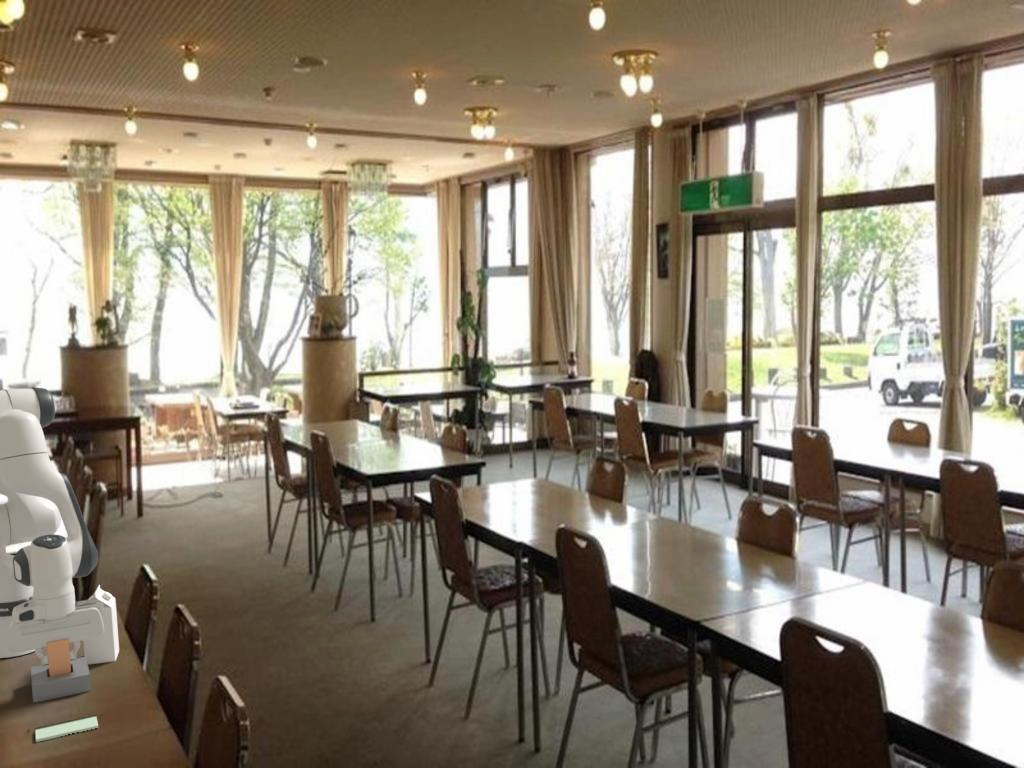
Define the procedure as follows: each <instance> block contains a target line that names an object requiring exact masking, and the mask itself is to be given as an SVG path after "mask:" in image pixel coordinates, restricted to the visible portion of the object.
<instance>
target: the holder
mask: <svg viewBox="0 0 1024 768" xmlns="http://www.w3.org/2000/svg"><path fill="white" fill-rule="evenodd" d="M70 665H71V673H67V674H62V675H57V676H52V677H50V675H49V665H45V666H42V664H40V665H36V666H31V667H30V676H31V691H32V703H33V704H34V703H40V702H45V701H49V700H55V699H58V698H64V697H67V696H74V695H78V694H82V693H88V692H90V691H92V685H91V673H90V669H89V664H88V663H87V658H86V657H84V656H82V657H77V659H76V660H71V661H70Z"/></svg>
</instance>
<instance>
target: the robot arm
mask: <svg viewBox="0 0 1024 768" xmlns="http://www.w3.org/2000/svg"><path fill="white" fill-rule="evenodd" d="M56 409H57V408H56V402H55V399H54V397H53V394H52V393H51V391H49V390H48V389H47V388H43V387H31V388H23V387H22V388H5V389H2V390H0V495H3V496H5V497H7V501H6V502H4V503H0V659H4V658H5V659H6V658H14V657H19V656H23V655H26V654H30V653H33V652H34V653H35V655H36V656H37V657H38V658H39V659H40V660H41V665H42V666H45V665H49V662H48V655H44V654H43V649H44V648H47V642H52V641H57V640H63V639H68V640H69V644H71V643H73V646H74V647H73V649H72V650H69V652H70V661H71V660H76V659H77V658H78V657H77V653H78V651H79V649H80V647H81V646H82V645H81V641H82V642H83V640H88V639H93V638H98V637H101V636H102V635H103V634H104V626H103V621H102V617H101V615H102V614H103V613H104V605H103V602H102V601H100V600H96V599H90V600H88V599H85V600H76V594H75V593H76V592H75V591H76V590H75V586H74V585H73V579H75V578H77V579H78V578H83V577H88V575H90V574H91V573H92V572H93V570H94V569H95V568H96V566H97V565H98V563H99V554H98V550H97V547H96V544H95V542H94V541H93V540H94V539H93V538H92V536H91V533H90V531H89V529H88V527H87V524H86V521H85V518H84V516H83V514H82V510H81V507H80V505H79V502H78V501H79V500H78V498H77V497H76V494H75V492H74V489H73V486H72V484H71V482H70V480H69V478H68V476H67V475H66V474H65V473H62V472H59V471H58V470H57V469H56V467H54V465H53V463H52V461H51V459H50V456H49V451H48V444H47V441H46V437H45V434H44V430H43V429H44V428H46V427H48V426H50V424H52V422H53V421H55V416H56V411H57V410H56ZM61 520H62V523H63V525H64V528H65V531H66V534H67V537H65V536H63V535H60V534H56V532H57V531H58V529H59V527H60V525H61ZM30 542H31V543H30ZM23 543H30V545H27V546H23V547H21V548H20V549H19V550H17V552H16V553H15V555H14V554H10V553H8V552H7V549H6V548H7V547H8V546H9V547H10V546H12V545H17V544H23ZM96 602H97V603H96Z"/></svg>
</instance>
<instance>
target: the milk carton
mask: <svg viewBox="0 0 1024 768" xmlns="http://www.w3.org/2000/svg"><path fill="white" fill-rule="evenodd" d="M90 599H96V600H100V601H102V602H103V605H104V613H103V614H102V615H101V617H102V621H103V626H104V634H103V635H102V636H101V637H98V638H93V639H88V640H82V642H83V654H84V656H83V657H86V658H87V663H88V665H94V664H102V663H111V662H116V661H117V659H118V655H119V653H120V643H119V642H120V641H119V632H118V630H119V629H118V628H119V627H118V617H117V615H118V614H117V602H116V601H117V600H116V597H115V596H113V595H112V593H110V592H108V591H105V590H103V589H102V588H101V585H100V584H98V586H97V588H96V590H95V592H94V593H93V594H92V595H91V596H90V597H89V598H88V599H87V600H90ZM96 603H97V602H96Z"/></svg>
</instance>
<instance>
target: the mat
mask: <svg viewBox="0 0 1024 768" xmlns="http://www.w3.org/2000/svg"><path fill="white" fill-rule="evenodd" d="M98 722H99V721H98V717H97V714H93V715H89V716H84V717H79V718H74V719H71V720H67V721H66V720H65V721H62V722H57V723H52V724H49V725H44V726H39V727H35V729H34V730H35V731H34V732H35V742H36V743H39V742H43V741H49V740H52V739H57V738H62V737H66V736H69V735H68V734H70V735H73V734H72V733H75V734H78V733H77V732H79V733H83V731H84V732H88V731H91V729H92V730H95V728H97V729H99V723H98ZM87 730H88V731H87ZM65 735H66V736H65ZM61 736H62V737H61Z"/></svg>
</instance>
